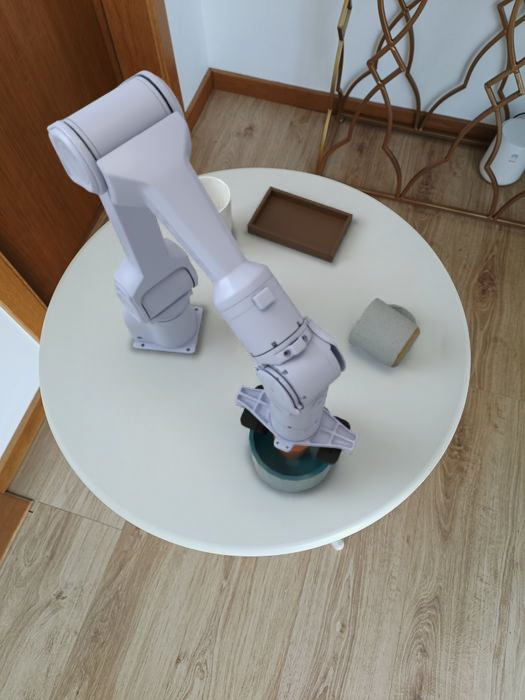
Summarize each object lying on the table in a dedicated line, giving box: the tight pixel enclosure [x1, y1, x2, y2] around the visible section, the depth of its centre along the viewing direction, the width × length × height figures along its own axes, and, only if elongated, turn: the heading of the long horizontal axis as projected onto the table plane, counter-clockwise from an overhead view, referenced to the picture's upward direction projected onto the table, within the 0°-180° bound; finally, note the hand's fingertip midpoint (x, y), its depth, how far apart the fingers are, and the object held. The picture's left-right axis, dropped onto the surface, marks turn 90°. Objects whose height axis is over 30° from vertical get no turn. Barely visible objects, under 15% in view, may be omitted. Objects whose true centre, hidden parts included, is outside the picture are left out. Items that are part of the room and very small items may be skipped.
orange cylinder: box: [273, 434, 310, 460], centre depth 67 cm, size 5×5×6 cm
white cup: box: [198, 175, 233, 234], centre depth 85 cm, size 8×8×10 cm
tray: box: [246, 185, 354, 264], centre depth 89 cm, size 15×9×2 cm, turn 65°
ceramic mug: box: [347, 297, 421, 368], centre depth 78 cm, size 11×8×8 cm
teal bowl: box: [248, 405, 332, 493], centre depth 70 cm, size 11×11×8 cm
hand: (293, 439), depth 69 cm, fingers open, 7 cm apart
